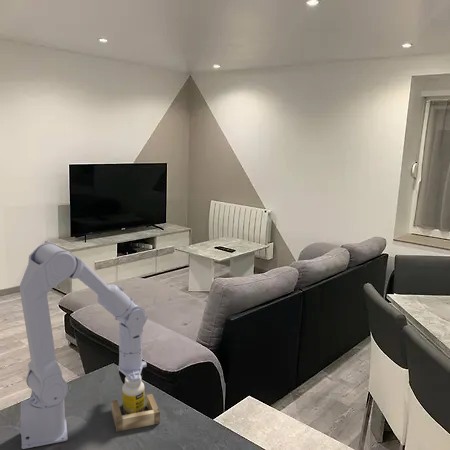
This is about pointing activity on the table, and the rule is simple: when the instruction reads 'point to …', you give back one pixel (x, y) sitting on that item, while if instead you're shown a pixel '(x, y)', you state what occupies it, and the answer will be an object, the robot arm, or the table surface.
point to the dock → (136, 416)
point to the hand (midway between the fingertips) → (130, 397)
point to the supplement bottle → (133, 396)
